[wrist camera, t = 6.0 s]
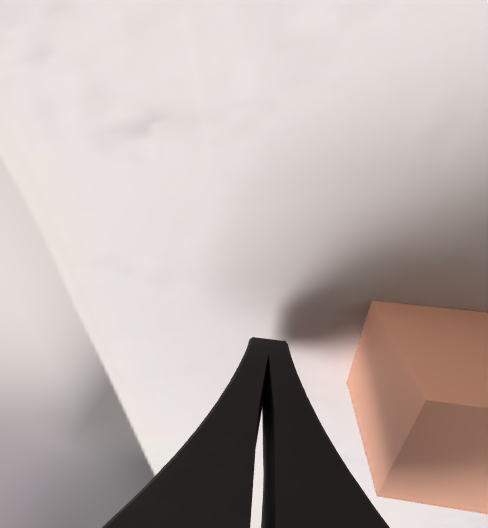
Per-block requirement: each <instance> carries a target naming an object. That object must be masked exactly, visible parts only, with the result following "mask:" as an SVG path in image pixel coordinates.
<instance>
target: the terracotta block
mask: <svg viewBox="0 0 488 528" xmlns="http://www.w3.org/2000/svg"><path fill="white" fill-rule="evenodd" d="M347 386H348V389H349V393H350V397H351V401H352V404H353V408H354V412H355V416H356V419H357V423H358V427H359V431H360V434H361V438H362V442H363V446H364V449H365V453H366V457H367V461H368V464H369V468H370V472H371V476H372V479H373V483H374V487H375V491H376V495H377V496H379V497H385V498H392V499H398V500H404V501H410V502H416V503H422V504H428V505H434V506H441V507H447V508H453V509H459V510H465V511H471V512H477V513H483V514H488V312H478V311H469V310H459V309H450V308H440V307H431V306H421V305H412V304H402V303H393V302H383V301H374V300H372V301H371V304H370V307H369V311H368V314H367V317H366V320H365V324H364V327H363V330H362V333H361V337H360V340H359V343H358V346H357V350H356V353H355V356H354V359H353V363H352V366H351V369H350V372H349V376H348V379H347Z"/></svg>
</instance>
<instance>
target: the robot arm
mask: <svg viewBox="0 0 488 528" xmlns="http://www.w3.org/2000/svg"><path fill="white" fill-rule="evenodd" d="M261 411H262V415H263V467H264V481H263V505H262V523H261V528H390V527H389V526H388V525H387V523H386V522H385V521H384V519H383V518H382V517H381V515H380V514H379V513H378V511H377V510H376V509H375V507H374V506H373V504H372V503H371V502H370V500H369V499H368V497H367V496H366V494H365V493H364V491H363V490H362V489H361V487H360V486H359V484H358V483H357V481H356V480H355V478H354V477H353V476H352V474H351V473H350V471H349V470H348V468H347V467H346V465H345V463H344V462H343V460H342V459H341V457H340V455H339V454H338V452H337V451H336V449H335V447H334V446H333V444H332V442H331V441H330V439H329V437H328V435H327V434H326V432H325V430H324V428H323V427H322V425H321V423H320V421H319V419H318V417H317V415H316V413H315V411H314V409H313V407H312V405H311V403H310V401H309V399H308V397H307V395H306V393H305V390H304V388H303V386H302V384H301V381H300V379H299V377H298V374H297V372H296V369H295V366H294V363H293V361H292V358H291V354H290V351H289V347H288V344H287V343H286V341H280V340H271V339H263V338H255V337H252V338H251V339H250V340H249V344H248V346H247V349H246V352H245V354H244V356H243V358H242V360H241V362H240V364H239V366H238V368H237V370H236V372H235V374H234V375H233V377H232V379H231V381H230V382H229V384H228V386H227V387H226V389H225V390H224V392H223V393H222V395H221V396H220V398H219V400H218V401H217V403H216V404H215V405H214V407H213V408H212V410H211V411H210V412H209V414H208V415H207V417H206V418H205V419H204V420H203V422H202V423H201V424H200V426H199V427H198V428H197V429H196V431H195V432H194V433H193V434H192V436H191V437H190V438H189V439H188V440H187V442H186V443H185V444H184V445H183V446H182V448H181V449H180V450H179V451H178V452H177V453H176V454H175V456H174V457H173V458H172V459H171V460H170V461H169V462H168V463H167V464H166V465H165V466H164V467H163V468H162V469H161V470H160V471H159V473H158V474H157V475H156V476H155V477H154V478H153V479H152V480H151V481H150V482H149V483H148V484H147V485H146V486H145V487H144V488H143V489H142V490H141V491H140V492H139V493H138V494H137V495H136V496H135V497H134V498H133V499H132V500H131V501H130V502H129V503H128V504H127V505H126V506H125V507H123V508H122V509H121V510H120V511H119V512H118V513H117V514H116V515H115V516H114V517H113V518H112V519H111V520H110V521H108V522H107V524H105V525H104V526H103V527H102V528H250V521H251V506H252V491H253V476H254V462H255V448H256V442H257V436H258V430H259V423H260V417H261Z"/></svg>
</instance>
